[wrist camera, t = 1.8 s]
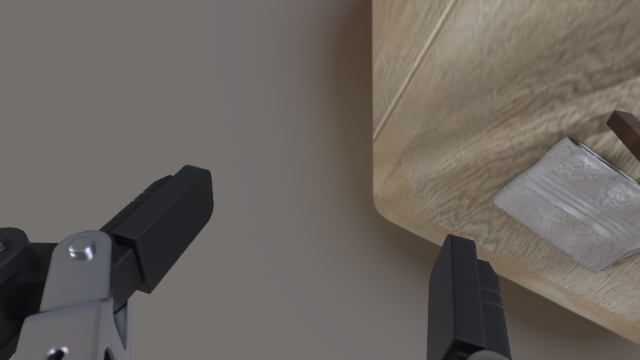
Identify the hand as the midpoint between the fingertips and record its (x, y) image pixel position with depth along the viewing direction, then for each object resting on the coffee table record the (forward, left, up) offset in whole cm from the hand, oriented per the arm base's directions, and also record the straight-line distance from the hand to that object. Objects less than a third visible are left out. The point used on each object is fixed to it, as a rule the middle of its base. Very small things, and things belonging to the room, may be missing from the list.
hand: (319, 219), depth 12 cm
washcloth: (+17, +26, -34) cm, 46 cm away
